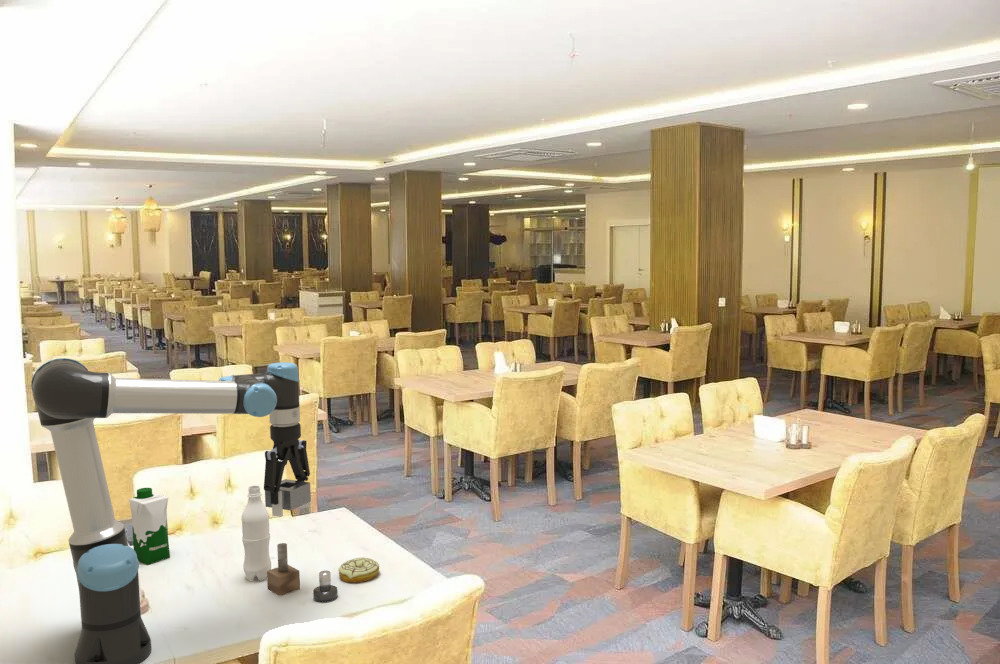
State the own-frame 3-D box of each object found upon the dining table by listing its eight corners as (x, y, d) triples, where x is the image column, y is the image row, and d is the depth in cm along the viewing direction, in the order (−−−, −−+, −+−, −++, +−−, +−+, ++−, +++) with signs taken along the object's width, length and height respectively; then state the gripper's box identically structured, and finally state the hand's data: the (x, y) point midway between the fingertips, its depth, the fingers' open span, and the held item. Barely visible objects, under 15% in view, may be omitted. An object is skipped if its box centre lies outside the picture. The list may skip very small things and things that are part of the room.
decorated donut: (332, 575, 219) (331, 562, 219) (366, 565, 226) (366, 552, 226) (350, 587, 211) (349, 574, 211) (386, 577, 218) (385, 563, 218)
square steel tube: (290, 510, 202) (290, 491, 201) (265, 506, 205) (264, 487, 205) (310, 501, 209) (310, 482, 209) (286, 497, 212) (285, 479, 212)
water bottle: (263, 583, 214) (259, 491, 211) (238, 581, 215) (234, 490, 213) (276, 572, 221) (272, 484, 218) (252, 571, 222) (248, 482, 220)
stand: (279, 596, 206) (277, 550, 205) (267, 589, 210) (265, 544, 209) (300, 589, 210) (298, 544, 209) (288, 582, 215) (286, 538, 213)
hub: (321, 604, 201) (320, 579, 200) (308, 597, 205) (308, 572, 205) (342, 597, 205) (341, 572, 205) (329, 590, 209) (328, 566, 209)
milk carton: (158, 550, 238) (154, 484, 236) (175, 557, 233) (171, 489, 231) (129, 559, 231) (125, 491, 229) (146, 567, 226) (142, 497, 224)
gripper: (269, 433, 194) (273, 525, 196) (322, 416, 213) (325, 500, 215) (245, 431, 197) (249, 521, 199) (299, 414, 216) (302, 497, 218)
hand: (288, 510), depth 207 cm, fingers closed on square steel tube, 8 cm apart
